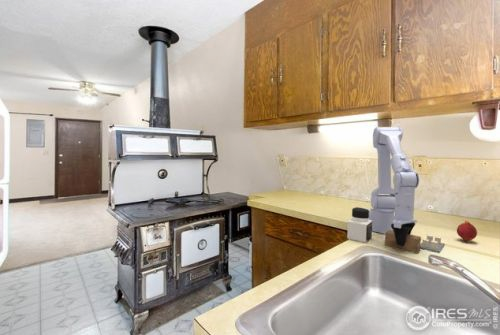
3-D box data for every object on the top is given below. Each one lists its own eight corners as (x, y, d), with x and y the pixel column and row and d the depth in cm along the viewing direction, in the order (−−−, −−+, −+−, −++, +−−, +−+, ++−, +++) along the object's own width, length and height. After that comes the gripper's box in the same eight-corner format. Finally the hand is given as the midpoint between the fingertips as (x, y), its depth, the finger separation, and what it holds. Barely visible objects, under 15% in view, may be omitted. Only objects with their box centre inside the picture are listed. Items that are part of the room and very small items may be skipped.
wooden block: (384, 245, 91) (385, 232, 91) (388, 243, 94) (389, 229, 94) (417, 254, 84) (417, 239, 84) (420, 250, 87) (420, 236, 86)
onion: (466, 238, 99) (468, 218, 98) (480, 244, 93) (482, 222, 92) (452, 238, 98) (453, 218, 98) (465, 244, 93) (466, 222, 92)
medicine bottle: (366, 243, 93) (367, 211, 93) (347, 238, 98) (347, 208, 97) (371, 238, 99) (373, 208, 98) (353, 234, 103) (354, 205, 103)
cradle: (439, 253, 85) (439, 244, 84) (418, 248, 89) (418, 239, 89) (444, 245, 92) (445, 237, 91) (424, 240, 96) (425, 233, 96)
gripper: (411, 211, 80) (409, 252, 81) (422, 204, 90) (420, 241, 91) (387, 207, 85) (386, 246, 86) (400, 201, 95) (399, 236, 96)
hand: (402, 243), depth 89 cm, fingers closed on wooden block, 4 cm apart
